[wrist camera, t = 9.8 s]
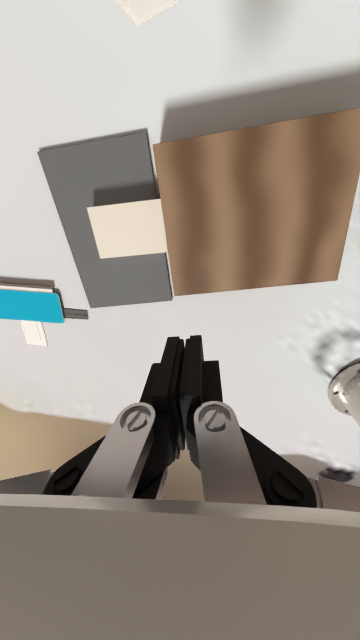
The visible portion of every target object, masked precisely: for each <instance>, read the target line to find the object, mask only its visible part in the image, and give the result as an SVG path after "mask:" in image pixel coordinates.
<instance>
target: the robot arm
mask: <svg viewBox="0 0 360 640" xmlns="http://www.w3.org/2000/svg"><path fill="white" fill-rule="evenodd" d="M328 397H329V400H330V402H331V404H332V405H333V406H334V408H335V409H337V410H338V411H339V412H341V413H343V414H347V415H351V416H352V417H353V418H354V419H355V421H356V422H357V423H358V425H359V426H360V363H357V364H355V365H352V366H350V367H348V368H347V369H345V370H344V371H342V372H341V373H340V374H339V375H337V376H336V378H335V379H334V380H333V381H332V383H331V385H330V387H329V390H328ZM185 438H186V441H187V448H188V450H189V451H190V457H191V461H192V462H193V464H194V465H195V466H196V467H197V468H198V469H199V470H200V471H201V477H202V484H203V491H204V500H205V502H199V501H178V500H161V497H162V493H163V489H164V485H165V482H166V478H167V474H168V466H169V465H170V464H171V463H172V462H173V461H175V459H179V454H180V450H184V449H185ZM0 640H360V487H357V486H353V485H349V484H345V483H341V482H337V481H333V480H329V479H325V478H321V477H317V480H315V479H311V478H307V477H306V476H305V475H304V474H302V473H301V472H300V471H299V470H298V469H297V468H295V467H294V466H292V465H291V464H290V463H289V462H287V461H286V460H285V459H283V458H282V457H280V456H279V455H278V454H276V453H275V452H274V451H272V450H271V449H270V448H268V447H267V446H266V445H264V444H263V443H262V442H260V441H259V440H258V439H256V438H255V437H254V436H252V435H251V434H249V433H248V432H247V431H245V430H244V429H243V428H241V427H240V426H239V423H238V421H237V418H236V415H235V413H234V411H233V409H232V408H231V407H230V406H228V405H227V404H225V403H223V399H222V389H221V380H220V370H219V361H204V358H203V347H202V337H201V335H196V336H190V339H186V344H185V347H184V340H183V339H180V338H179V337H168V338H167V342H166V346H165V349H164V353H163V356H162V360H161V363H153V364H152V366H151V369H150V372H149V375H148V378H147V381H146V384H145V387H144V390H143V393H142V396H141V399H140V402H139V403H134V404H131V405H129V406H127V407H126V408H124V409H123V410H122V411H121V412H120V414H119V415H118V416H117V418H116V420H115V421H114V423H113V425H112V427H111V429H110V430H109V432H108V433H107V435H106V436H104V437H103V438H101V439H100V440H98V441H97V442H95V443H94V444H93V445H91V446H90V447H88V448H87V449H85V450H84V451H82V452H81V453H79V454H78V455H76V456H75V457H73V458H72V459H71V460H69V461H68V462H66V463H65V464H63V465H62V466H61V467H60V468H58V469H57V470H56V471H55V472H52V470H46V471H41V472H37V473H32V474H28V475H23V476H19V477H14V478H10V479H5V480H1V481H0Z"/></svg>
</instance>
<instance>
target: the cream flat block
mask: <svg viewBox="0 0 360 640" xmlns="http://www.w3.org/2000/svg"><path fill="white" fill-rule="evenodd" d="M87 211H88V214H89V218H90V222H91V226H92V230H93V233H94V237H95V241H96V245H97V248H98V252H99V256H100V259H103V258H113V257H124V256H134V255H145V254H155V253H166V252H168V247H167V240H166V233H165V226H164V219H163V213H162V206H161V199H154V200H146V201H137V202H129V203H121V204H113V205H104V206H96V207H88V208H87Z"/></svg>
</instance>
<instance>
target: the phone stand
mask: <svg viewBox="0 0 360 640" xmlns="http://www.w3.org/2000/svg"><path fill="white" fill-rule="evenodd" d="M50 286H51V285H50ZM52 288H54V287H53V286H52V287H49V286H37V285H29V284H28V285H26V284H10V283H0V319H12V320H20V322H21V325H22V329H23V332H24V335H25V338H26V341H27V344H32V345H44V346H48V343H47V339H46V336H45V332H44V328H43V325H42V322H51V323H63V322H64V318H72V319H75V318H76V319H88V315H87V311H82V310H74V309H64V307H63V302H60V299H59V295H58V294H57V293H53V292H52ZM75 314H82V315H75Z"/></svg>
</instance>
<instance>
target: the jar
mask: <svg viewBox="0 0 360 640" xmlns="http://www.w3.org/2000/svg"><path fill="white" fill-rule="evenodd" d="M114 1H115V2H116V3H117V4H118V5H119V7H120V8H121V9H122V10H123V11H124V12H125V14H126V15H127V16H128V17H129V18H130V20H131V21H132V22H133V23H134V24H135V25H136V26H139V25H141V24H142V23H144V22H146V21H147V20H149V19H151V18H152V17H154V16H156V15H157V14H159V13H161V12H162V11H164V10H166V9H167V8H169V7H171V6H172V5H174V4H176V3H177V2H179V1H181V0H114Z"/></svg>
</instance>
